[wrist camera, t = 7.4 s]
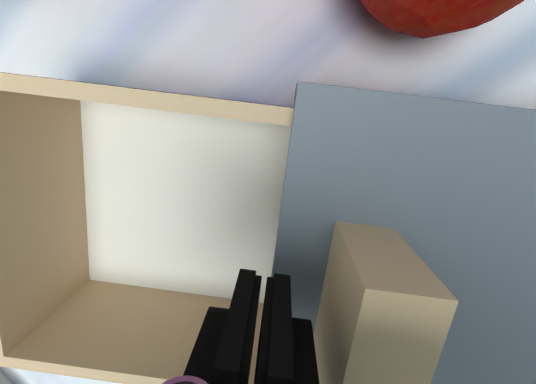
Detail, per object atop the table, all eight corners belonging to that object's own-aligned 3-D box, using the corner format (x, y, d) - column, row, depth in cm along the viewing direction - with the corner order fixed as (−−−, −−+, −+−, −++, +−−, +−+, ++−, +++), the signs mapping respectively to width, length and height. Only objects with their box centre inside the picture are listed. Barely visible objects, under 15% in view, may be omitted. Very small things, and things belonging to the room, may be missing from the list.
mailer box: (349, 316, 20) (380, 419, 14) (86, 281, 21) (-8, 364, 14) (393, 119, 17) (465, 129, 10) (75, 81, 17) (-59, 65, 10)
